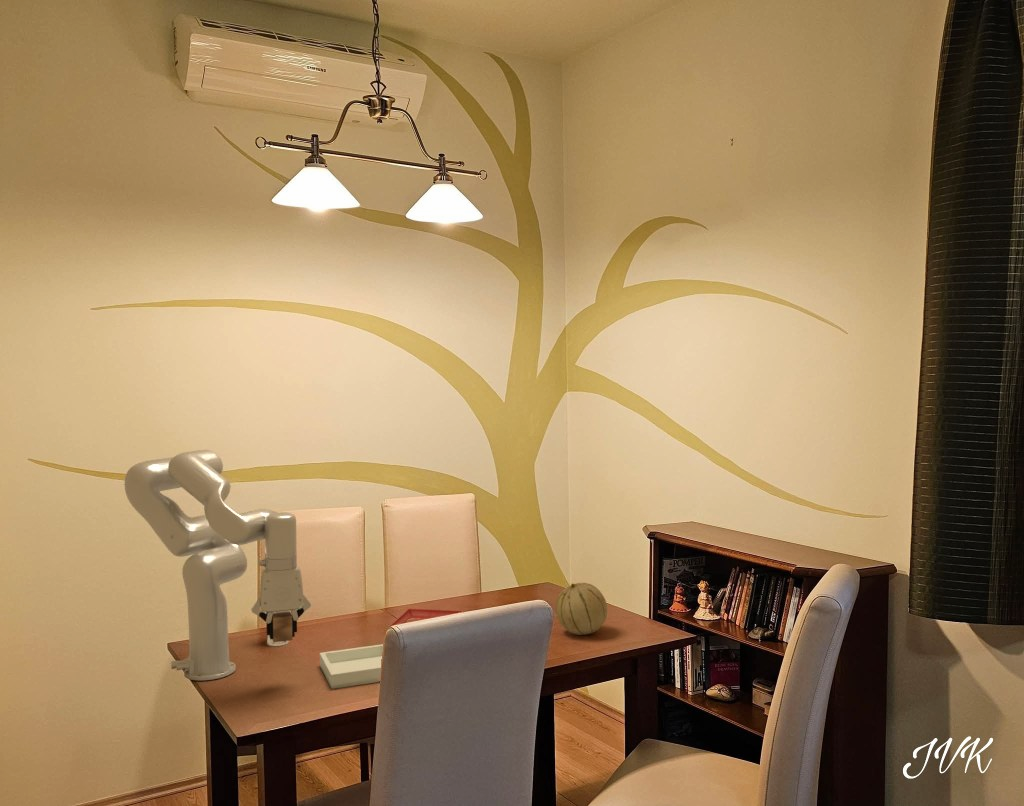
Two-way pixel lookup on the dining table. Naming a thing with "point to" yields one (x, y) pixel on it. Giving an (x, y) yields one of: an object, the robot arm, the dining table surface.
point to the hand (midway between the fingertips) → (281, 635)
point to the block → (282, 626)
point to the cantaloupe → (581, 608)
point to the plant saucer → (421, 614)
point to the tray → (352, 666)
